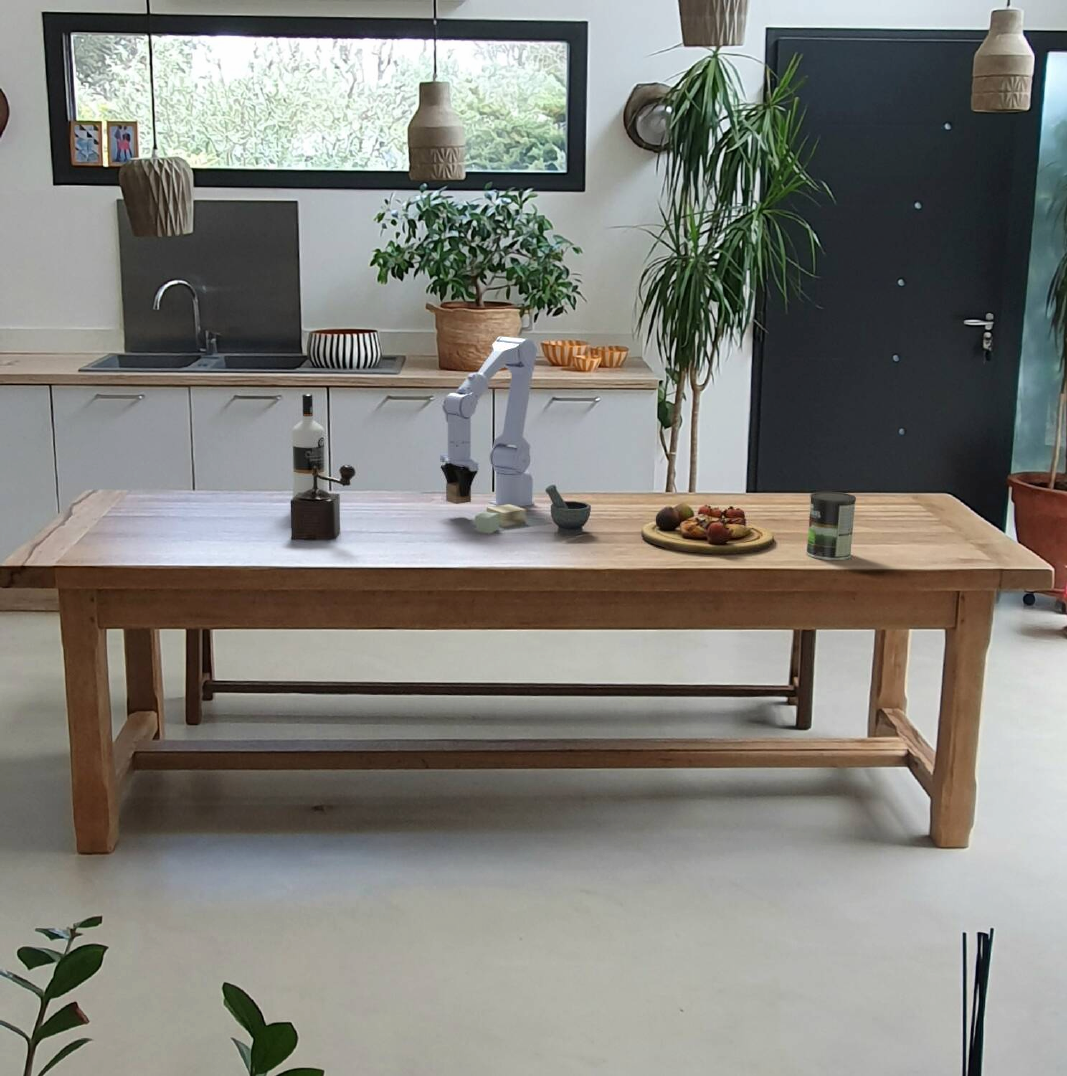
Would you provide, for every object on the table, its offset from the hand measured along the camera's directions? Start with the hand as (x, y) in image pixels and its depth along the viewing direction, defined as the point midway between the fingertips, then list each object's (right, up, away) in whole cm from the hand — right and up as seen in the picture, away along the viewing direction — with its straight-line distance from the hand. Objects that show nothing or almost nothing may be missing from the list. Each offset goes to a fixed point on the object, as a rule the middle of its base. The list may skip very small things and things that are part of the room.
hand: (459, 494), depth 340 cm
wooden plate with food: (+61, -12, -14) cm, 64 cm away
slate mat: (+12, -7, -3) cm, 14 cm away
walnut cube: (0, -2, 0) cm, 2 cm away
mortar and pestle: (+27, -10, -11) cm, 31 cm away
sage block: (+8, -9, -12) cm, 17 cm away
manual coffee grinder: (-31, -11, -19) cm, 38 cm away
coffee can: (+88, -15, -27) cm, 93 cm away
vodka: (-39, -4, +6) cm, 40 cm away
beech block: (+12, -7, -3) cm, 14 cm away
